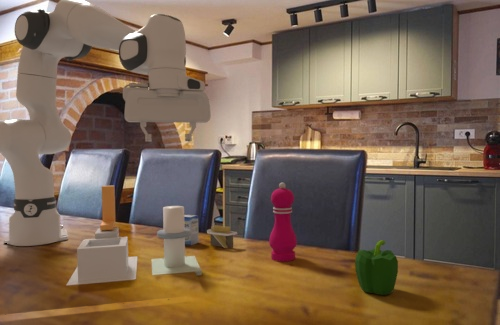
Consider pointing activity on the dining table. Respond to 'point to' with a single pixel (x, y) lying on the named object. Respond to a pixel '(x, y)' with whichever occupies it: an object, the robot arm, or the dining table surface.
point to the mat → (189, 266)
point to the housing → (104, 259)
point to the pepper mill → (282, 226)
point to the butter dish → (221, 236)
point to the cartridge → (174, 236)
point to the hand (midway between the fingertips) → (168, 141)
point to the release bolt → (108, 208)
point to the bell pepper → (376, 270)
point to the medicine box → (191, 224)
